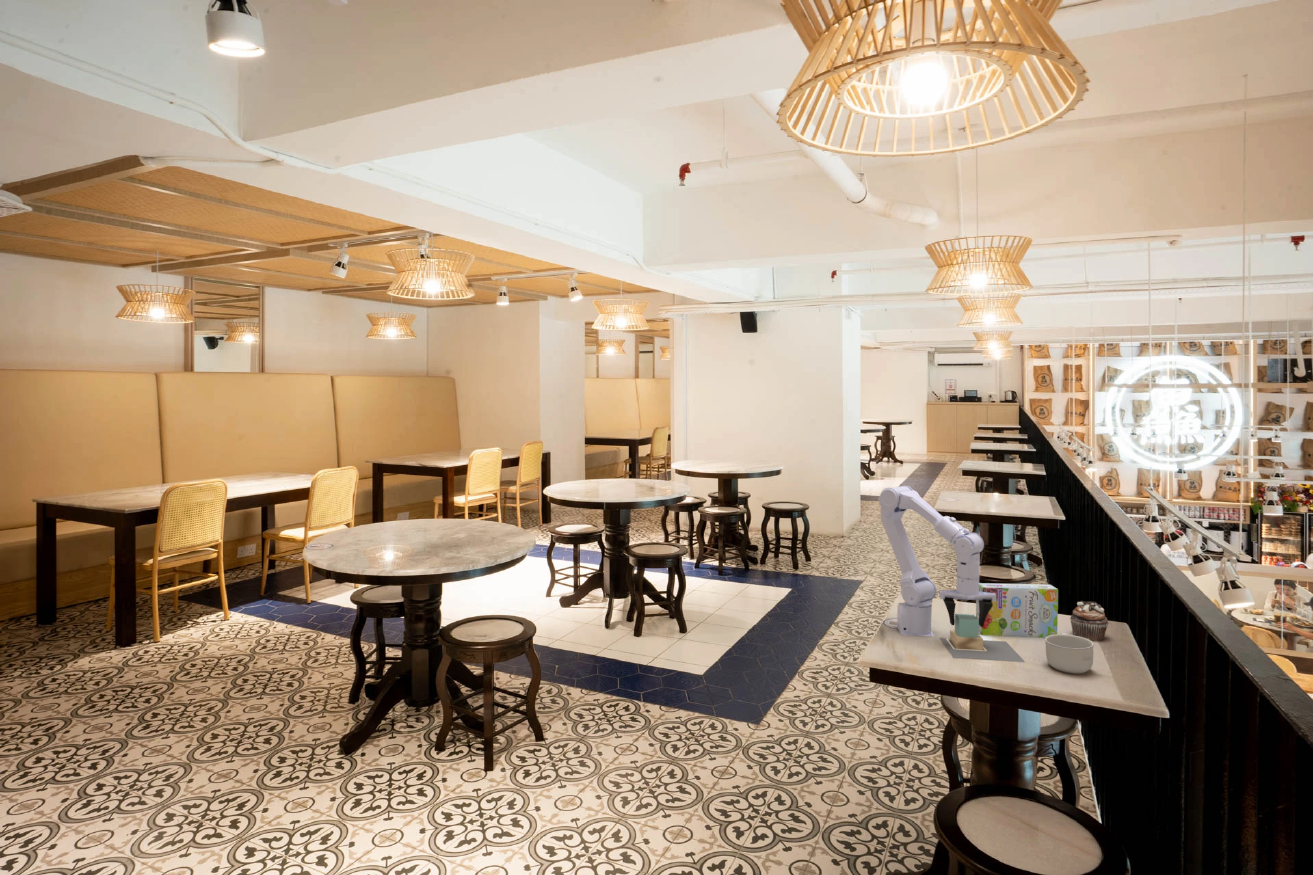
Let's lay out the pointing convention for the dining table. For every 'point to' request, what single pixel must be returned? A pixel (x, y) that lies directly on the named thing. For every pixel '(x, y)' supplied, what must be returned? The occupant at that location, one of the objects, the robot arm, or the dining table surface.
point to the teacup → (1069, 653)
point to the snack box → (1020, 610)
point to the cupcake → (1089, 621)
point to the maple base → (966, 641)
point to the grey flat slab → (985, 651)
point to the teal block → (966, 625)
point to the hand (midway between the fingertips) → (966, 624)
